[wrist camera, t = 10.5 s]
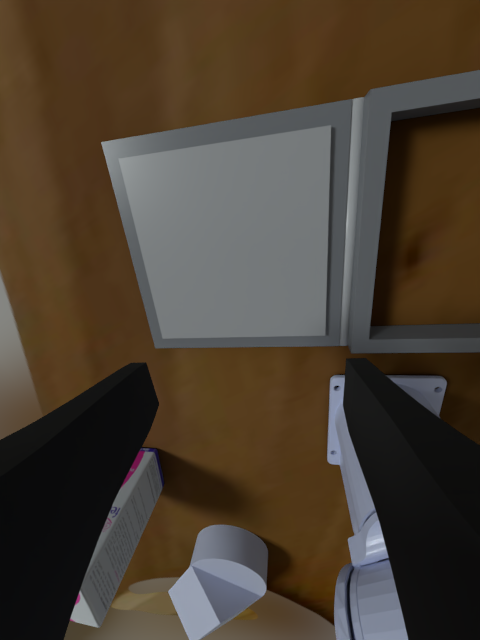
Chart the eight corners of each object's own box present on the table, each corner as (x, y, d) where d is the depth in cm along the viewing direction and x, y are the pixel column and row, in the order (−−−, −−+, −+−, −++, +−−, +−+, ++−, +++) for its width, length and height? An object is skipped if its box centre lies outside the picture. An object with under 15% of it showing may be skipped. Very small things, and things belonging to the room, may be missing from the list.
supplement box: (157, 446, 28) (80, 592, 17) (165, 483, 30) (102, 631, 20) (106, 440, 29) (5, 575, 18) (118, 477, 31) (35, 615, 21)
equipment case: (588, 335, 17) (624, 351, 15) (160, 342, 22) (149, 354, 20) (725, 41, 11) (809, 11, 10) (111, 145, 17) (90, 138, 15)
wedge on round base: (235, 585, 37) (281, 545, 32) (226, 660, 31) (280, 627, 26) (177, 559, 37) (213, 514, 31) (156, 630, 31) (195, 590, 25)
